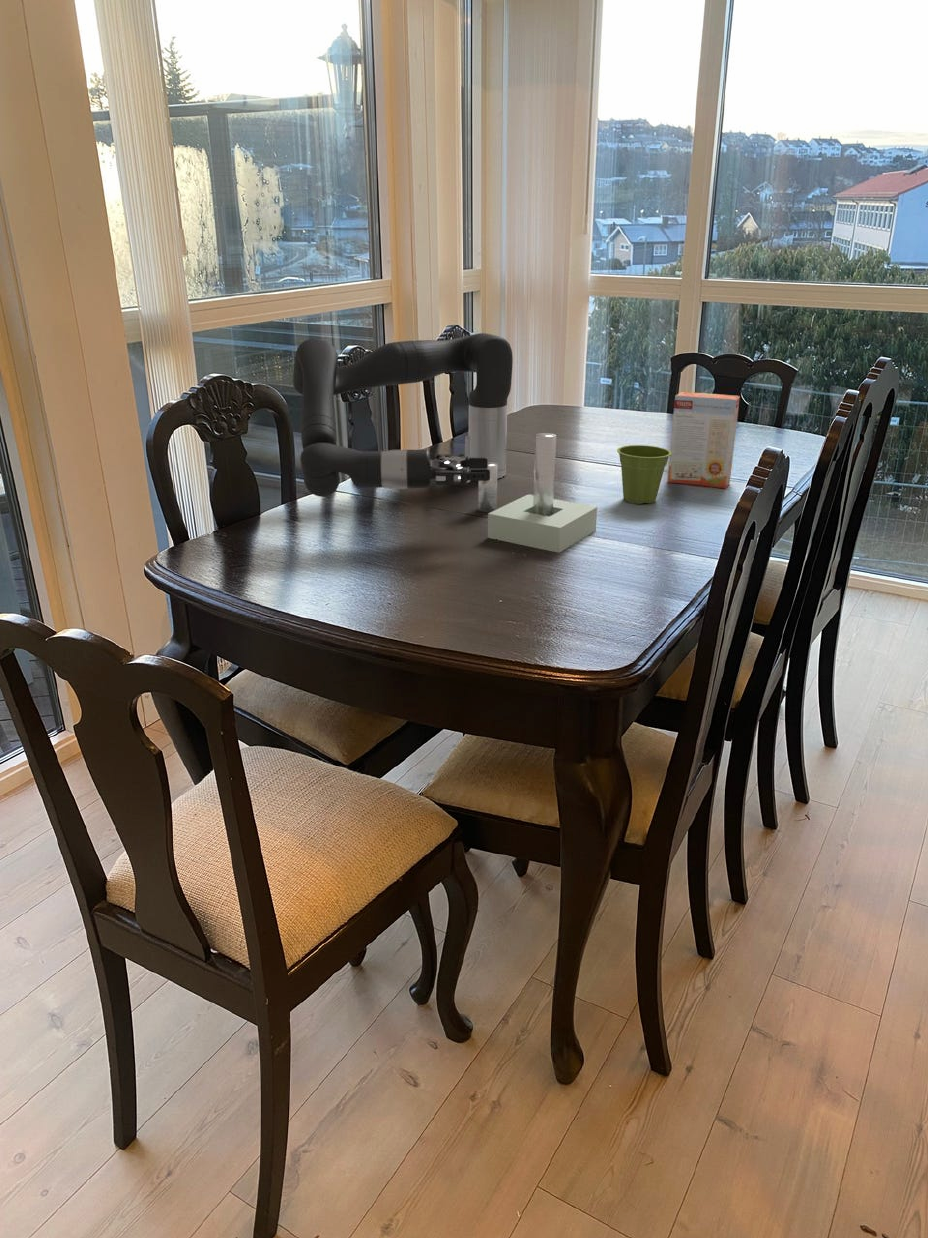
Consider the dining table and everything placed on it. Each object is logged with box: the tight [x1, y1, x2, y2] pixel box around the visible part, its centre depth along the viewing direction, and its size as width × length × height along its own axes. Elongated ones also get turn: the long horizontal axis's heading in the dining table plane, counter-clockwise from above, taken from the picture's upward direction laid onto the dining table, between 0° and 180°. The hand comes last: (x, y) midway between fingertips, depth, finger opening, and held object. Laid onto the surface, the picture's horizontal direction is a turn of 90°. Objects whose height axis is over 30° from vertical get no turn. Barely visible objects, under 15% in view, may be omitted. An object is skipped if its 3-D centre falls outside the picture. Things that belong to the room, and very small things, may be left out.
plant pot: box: [616, 444, 672, 505], centre depth 202 cm, size 12×12×11 cm
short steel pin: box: [477, 462, 498, 513], centre depth 195 cm, size 4×4×10 cm
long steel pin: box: [532, 432, 557, 517], centre depth 178 cm, size 4×4×20 cm
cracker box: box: [667, 391, 741, 489], centre depth 213 cm, size 14×6×21 cm, turn 65°
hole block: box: [487, 494, 598, 554], centre depth 181 cm, size 16×16×5 cm
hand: (488, 468), depth 176 cm, fingers open, 8 cm apart
